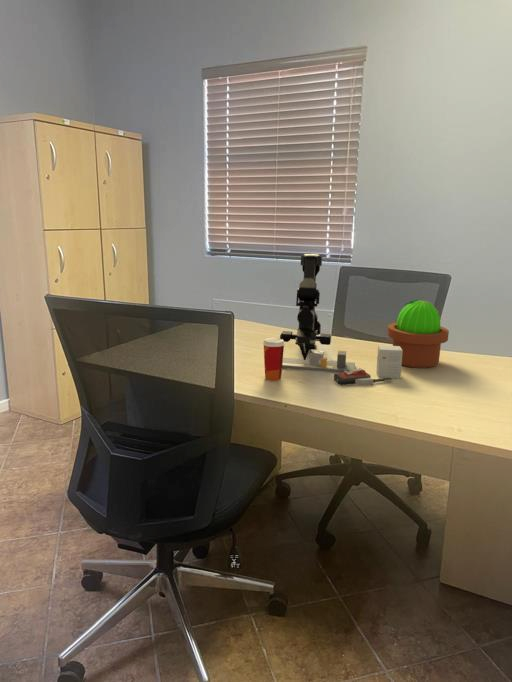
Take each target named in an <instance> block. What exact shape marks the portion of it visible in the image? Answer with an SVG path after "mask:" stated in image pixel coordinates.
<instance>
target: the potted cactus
mask: <svg viewBox="0 0 512 682" xmlns="http://www.w3.org/2000/svg"><path fill="white" fill-rule="evenodd" d="M439 311H440V310H437V306H436V307H435V305H434V304H432V303H431V302H429V301H428V300H426V301H425V300H424V299H420V300H419V299H415V300H410V301H409V302H407V303H405V304H404V306H403V307H402V309H401V310H400V312H399V313H398V315H397V320H396V321H395V322H394V323H390V324H388V326H387V336H388V337H389V338H390V339H392V346H400V347H401V349H402V350H403V353H402V365H401V366H404V367H408V368H413V369H414V368H415V369H417V368H418V369H421V368H422V369H423V368H424V369H425V368H432V367H435V366H437V365H439V364H440V363H439V362H440V354H441V346H442V344H444V343H446V342H448V340H449V334H450V333H449V332H450V331H449V329H448V328H446V327H443V326H441V321H442V318H440V317H441V316H440V314H439Z"/></svg>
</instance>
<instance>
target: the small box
mask: <svg viewBox="0 0 512 682" xmlns="http://www.w3.org/2000/svg"><path fill="white" fill-rule="evenodd" d="M402 353H403V350H402V349H401V347H400V346H393V345H378V346H377V358H376V375H377V377H378V378H380V379H383V378H392V379H401V376H402V366H403V365H402Z"/></svg>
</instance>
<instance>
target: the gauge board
mask: <svg viewBox="0 0 512 682" xmlns="http://www.w3.org/2000/svg"><path fill="white" fill-rule="evenodd" d="M309 363H310V358H309V359H308V358H306V360H304V359H303V358H295V357H294V358H292V357H283V363H282V370H284V369H285V370H296V371H298V370H299V371H310V372H311V371H313V372H324V373H326V372H327V373H343V372H344V371H347V372H349V371H350V370H351V369H356V362H350V361H347V351H345V350H343V351H342V350H338V351H337V360H336V361H334V360H327V366H326V367H321V365H309Z"/></svg>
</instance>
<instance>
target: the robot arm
mask: <svg viewBox="0 0 512 682" xmlns="http://www.w3.org/2000/svg"><path fill="white" fill-rule="evenodd" d="M322 263H323V256H322V255H321V256H320V254H313V253H311V254H310V253H309V254H307V253H304V254H303V255H301V256H300V266H302V270H301V271H302V272H303V279H302V280H301V281H300V282H299V286H298V287H299V288H297V290H296V301H295V306H296V307H299V310H298V313H297V322H298V329H297V330H296V333H297V334H294V333H293V331H292V330H291V331H289V330H286V331H285V330H283V331H282V332H281V334H280V336H279V339H281V340H282V339H283V340H284V343H285V342H286V343H289V342H290V341H291V340H295V345H297V346H298V347H299V350H300V353H301V355H302V359H304V360H306V359H307V357H308V354H309V353H310V352H309V351H311V350H317V349H316V348H317V344H316V342H319V343H320V345H323V346H324V345H325V346H330V345H331V343H332V335H331V334H330V333H321V325H322V324H321V323H320V320H318V319H319V317H318V314H317V312H316V307H318V305H319V304H320V297H321V296H320V294H321V293H320V291H319V289H317V282H316V279H317V275H318V274H319V272H320V269H321V267H322V265H323V264H322Z"/></svg>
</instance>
